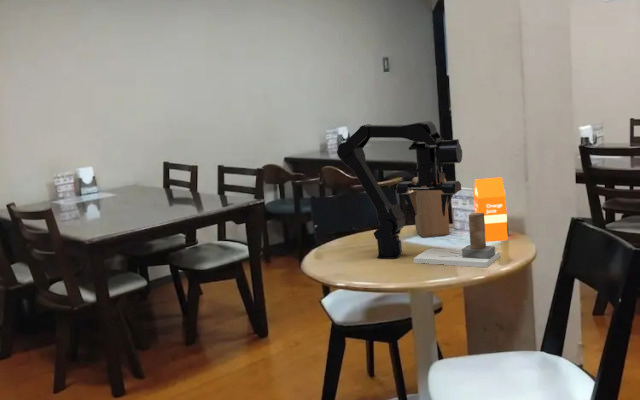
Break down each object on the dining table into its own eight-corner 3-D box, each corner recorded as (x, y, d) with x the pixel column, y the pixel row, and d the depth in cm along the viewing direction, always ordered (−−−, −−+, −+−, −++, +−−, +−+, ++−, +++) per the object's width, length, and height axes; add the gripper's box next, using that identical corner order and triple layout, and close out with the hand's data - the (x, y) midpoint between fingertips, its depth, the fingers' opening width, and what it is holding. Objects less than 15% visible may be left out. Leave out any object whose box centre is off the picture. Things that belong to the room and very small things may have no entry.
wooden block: (415, 232, 239) (411, 177, 236) (443, 229, 240) (439, 174, 236) (421, 238, 229) (417, 180, 226) (450, 235, 230) (446, 177, 227)
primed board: (414, 263, 199) (413, 257, 198) (429, 252, 209) (429, 248, 208) (486, 267, 187) (486, 262, 187) (499, 256, 197) (499, 251, 197)
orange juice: (475, 237, 224) (472, 178, 221) (502, 234, 223) (499, 175, 220) (480, 242, 216) (477, 181, 213) (508, 240, 216) (505, 178, 212)
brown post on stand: (462, 257, 194) (459, 215, 192) (468, 253, 198) (466, 211, 196) (489, 259, 190) (486, 216, 188) (495, 254, 194) (492, 212, 192)
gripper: (466, 159, 200) (469, 210, 202) (409, 161, 210) (412, 209, 212) (452, 164, 191) (456, 218, 193) (393, 166, 201) (397, 217, 203)
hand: (430, 215), depth 201 cm, fingers open, 9 cm apart
